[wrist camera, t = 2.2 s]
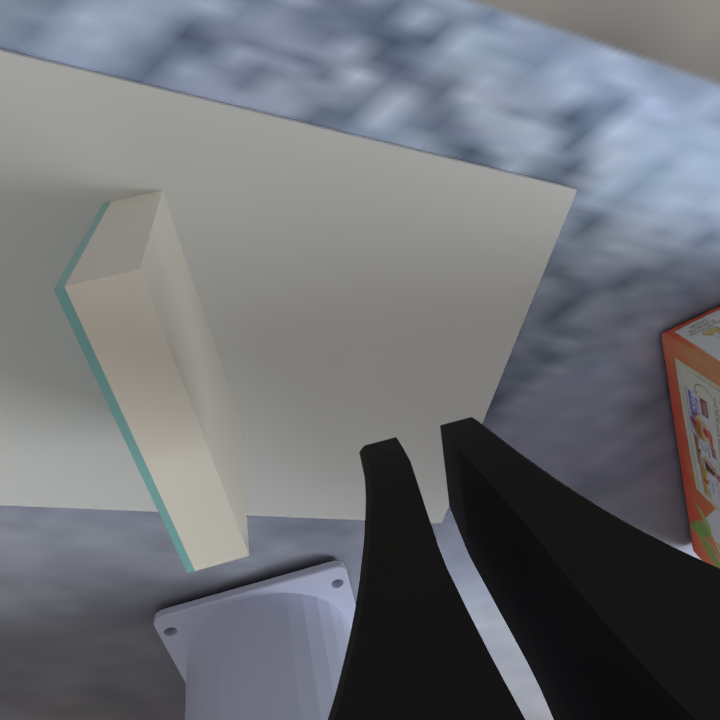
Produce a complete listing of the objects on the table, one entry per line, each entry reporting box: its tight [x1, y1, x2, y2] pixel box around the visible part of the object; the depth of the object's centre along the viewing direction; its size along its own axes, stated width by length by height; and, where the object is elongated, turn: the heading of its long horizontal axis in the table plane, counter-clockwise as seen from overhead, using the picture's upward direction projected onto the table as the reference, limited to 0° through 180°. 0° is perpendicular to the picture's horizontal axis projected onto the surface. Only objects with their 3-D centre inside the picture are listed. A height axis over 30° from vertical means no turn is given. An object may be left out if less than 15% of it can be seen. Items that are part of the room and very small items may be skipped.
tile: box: [54, 190, 249, 573], centre depth 16 cm, size 8×2×6 cm, turn 9°
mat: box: [0, 49, 577, 524], centre depth 19 cm, size 20×14×1 cm
